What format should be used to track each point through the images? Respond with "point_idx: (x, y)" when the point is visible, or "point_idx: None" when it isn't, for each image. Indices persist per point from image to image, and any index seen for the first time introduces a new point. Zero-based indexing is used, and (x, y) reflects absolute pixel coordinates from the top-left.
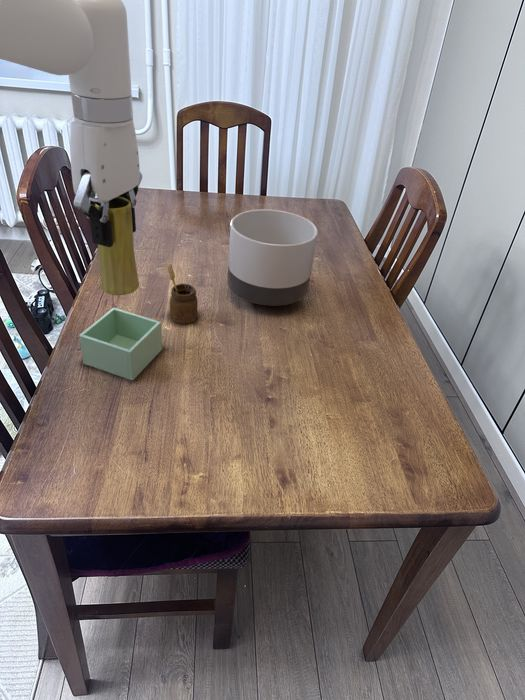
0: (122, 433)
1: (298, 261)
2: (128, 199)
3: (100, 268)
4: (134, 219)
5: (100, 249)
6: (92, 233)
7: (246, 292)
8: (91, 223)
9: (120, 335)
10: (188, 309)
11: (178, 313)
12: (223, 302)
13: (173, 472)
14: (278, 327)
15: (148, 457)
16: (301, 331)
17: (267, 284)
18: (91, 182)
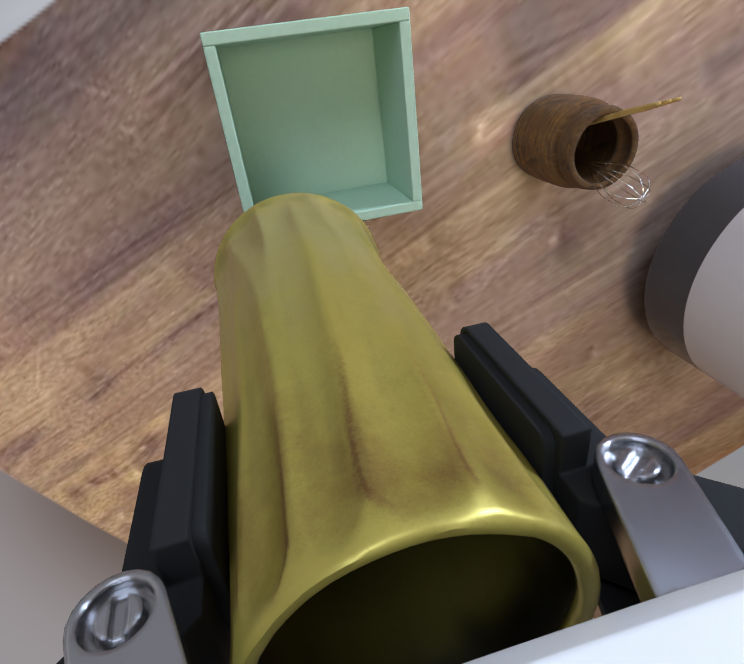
0: (104, 318)
1: None
2: (599, 609)
3: (234, 273)
4: None
5: (234, 352)
6: (169, 439)
7: (668, 272)
8: (162, 504)
9: (372, 43)
10: (547, 180)
11: (528, 152)
12: (648, 182)
13: (113, 446)
14: (593, 342)
15: (101, 396)
16: (597, 382)
17: (691, 339)
18: None
